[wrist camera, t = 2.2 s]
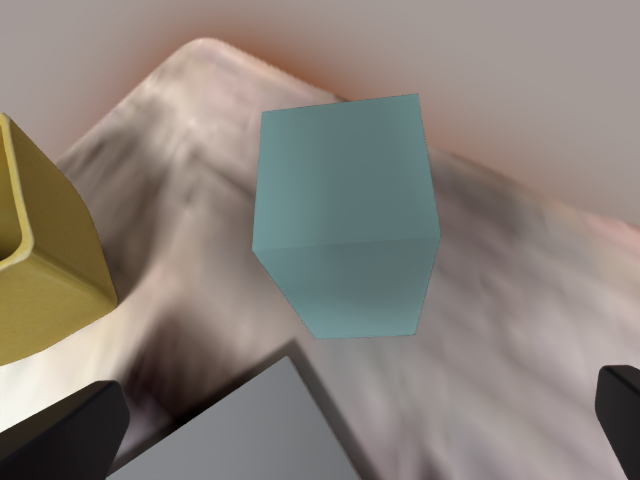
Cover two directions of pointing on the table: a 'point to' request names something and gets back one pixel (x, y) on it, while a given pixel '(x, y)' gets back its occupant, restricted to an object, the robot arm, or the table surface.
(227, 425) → the coaster
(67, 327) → the flower pot
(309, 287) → the block
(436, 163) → the table surface
